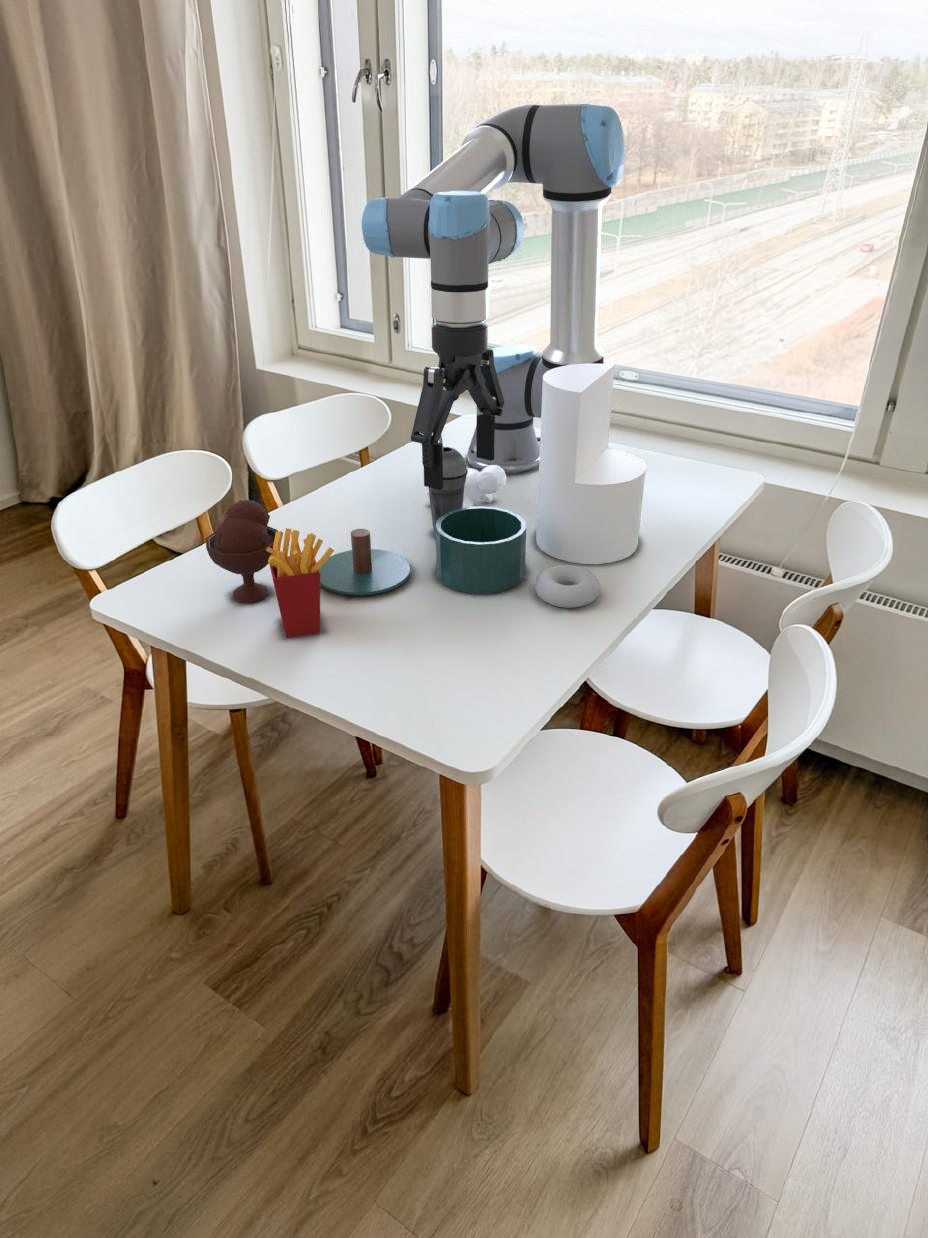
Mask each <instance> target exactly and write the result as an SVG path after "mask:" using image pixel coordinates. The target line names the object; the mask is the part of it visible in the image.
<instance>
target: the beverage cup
mask: <svg viewBox="0 0 928 1238" xmlns="http://www.w3.org/2000/svg"><path fill="white" fill-rule="evenodd" d="M438 443H442V453H443V489H441V490H438V489H434V488H430V487H427V488H428V491H429V496H428V498H429V497H430V501H429V505H430V513H431V521H432V522H431V523H432V527H433V532H434V533H433V535H434V537H436V521H437V520H438V519H439V518H440V517H441V516H442V515H444V514H446V513H448V512H451V511H453V510H457V509H461V508H463V496H464V485H465V482H466V476H467V473H468V470H467V468H468V467H467V466H468V465H467V462H466V459H465V458H464V456H463V454H461V452H460V451H458V450H457V449H455V448H453V447H449V446H444V444H443V443H444V442H443V436H442V434H441V436H440V439H439V441H438Z"/></svg>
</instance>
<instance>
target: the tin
mask: <svg viewBox="0 0 928 1238" xmlns="http://www.w3.org/2000/svg"><path fill="white" fill-rule="evenodd" d="M526 549H527V522H526V520H525V519H524V518H523V517H522V516H521V515H520V514H517V513H515V512H514V511H511V510H508V509H505V508H500V507H496V506H480V505H479V506H474V507H466V508H461V509H457V510H453V511H451V512H448V513H446V514H444V515H442V516H441V517H440V518H439V519H438V520H437V521H436V536H435V555H436V556H435V565H436V567H435V568H436V576H437V579H438V580H439V582H440V583H441V584H442V585H444V587H447V588H449V589H450V590H453V591H456V592H461V593H465V594H470V595H471V594H472V595H491V594H497V593H498V594H499V593H502V592H505V591H509V590H511V589H513V588H515V587H516V586H518V585H520V583H522V581H523V580H524V577H525V573H526V551H527V550H526Z"/></svg>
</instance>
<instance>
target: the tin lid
mask: <svg viewBox="0 0 928 1238" xmlns="http://www.w3.org/2000/svg"><path fill="white" fill-rule="evenodd" d="M371 541H372V539H371V531H370V530H369V529H367V528H356V529H353V530H351V531H350V542H351V543H350V544H351V549H350V550H346V551H341V552H338V553H335V554H333V555H331V556H330V557H329V558H328V560H327V561H326V562H325V563H324V564H323V565H322V566H321V567H320V568H319V572H320V587H323V588H324V589H325V590H328V591H330V592H333V593H337V594H341V595H348V596H369V595H377V594H380V593H385V592H388V591H391V590H393V589H396V588H398V587H399V586H401V585H402V584H404V583H405V582H406V581H407V580H408V578H409V577H410V575H411V566H410V563H409V561H408V560H407V559H406V558H404V557H403V556H402V555H400V554H397V553H396V552H393V551H389V550H386V549H385V550H384V549H377V548H372V542H371Z"/></svg>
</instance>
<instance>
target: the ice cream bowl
mask: <svg viewBox="0 0 928 1238" xmlns="http://www.w3.org/2000/svg"><path fill="white" fill-rule="evenodd" d="M270 518H271V515H270V514H269V512H268V511H267V510H266V508H264V506H262V504H261V503H260V502H257V501H255V500H252V499H251V500H250V499H244V500H243V499H242V500H241V499H240V500H238V501H236V502H235V503H233V504H232V505H230V506H229V507H228V509H227V510H226V518H224V520H223V521H222V522H221V523H220V524H219V525H218V526H217V527H216V528H217V529H216V530H215V531H214V532H212V533H211V534H210V535H208V536H207V537H206V538H205V549H206V552H207V554H208V556H209V558H210V559H211V561H212V562H213V564H215V565H217V567H220V568H221V569H223V570H225V571H227V572H229V573H232V574H235V575H240V576H241V577H242V583H243V584H241V585H239V586H238V587H237V588H235V589H234V590H233V592H232V599H233V601H235V602H238V603H239V604H240V603H241V604H254V603H258V602H260V601H261V602H262V601H264V600H265V599H267V597H268V596H269V595H270V594H269V593H270V592H269V589H268V587H267V586H266V585H263V584H261V583H258V582H255V581H256V580H255V574H256V573H258V572H260V571H262V570H263V569H265V567H266V566H268V565H269V564H268V560H269V557H270V556H271V555H273V554H272V553H270V552H268V551H266V550H267V548H268V547H270V548H271V549H273V545H274V539H275V535H276V531H279V529H277V528H275V527H271V526H269V521H270V520H271V519H270Z"/></svg>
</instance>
